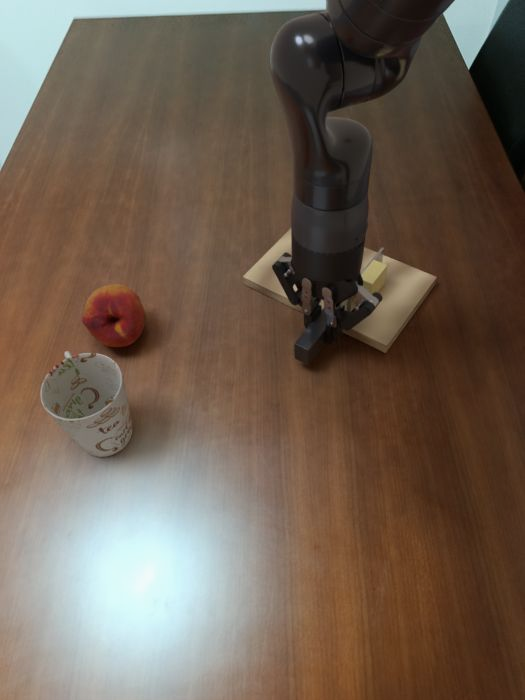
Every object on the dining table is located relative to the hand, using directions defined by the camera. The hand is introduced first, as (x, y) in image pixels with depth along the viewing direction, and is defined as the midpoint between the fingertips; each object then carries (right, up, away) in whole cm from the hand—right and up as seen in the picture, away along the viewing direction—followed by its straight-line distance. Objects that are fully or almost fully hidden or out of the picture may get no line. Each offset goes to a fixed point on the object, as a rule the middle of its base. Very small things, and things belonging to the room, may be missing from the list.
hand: (322, 334), depth 72 cm
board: (+3, +7, +8) cm, 11 cm away
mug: (-27, -10, -4) cm, 29 cm away
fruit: (-26, 0, +4) cm, 26 cm away
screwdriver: (+3, +3, +3) cm, 5 cm away
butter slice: (+7, +6, +5) cm, 10 cm away
